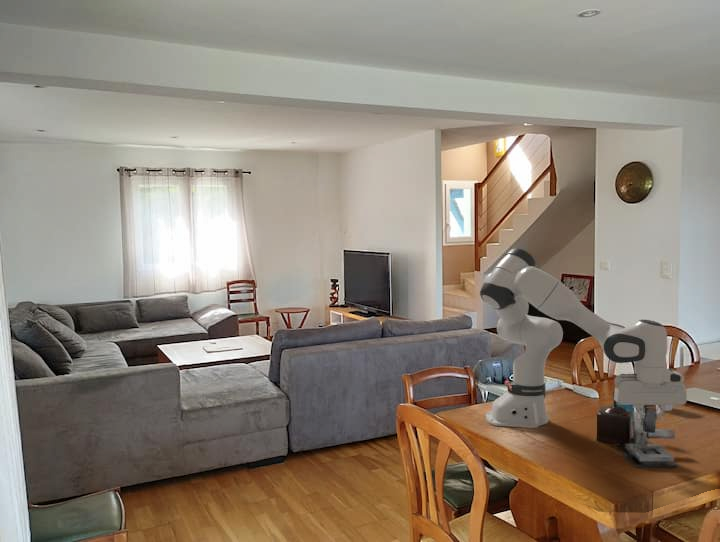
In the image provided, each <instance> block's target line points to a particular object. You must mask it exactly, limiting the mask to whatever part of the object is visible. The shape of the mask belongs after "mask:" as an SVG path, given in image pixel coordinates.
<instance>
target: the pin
mask: <svg viewBox="0 0 720 542" xmlns="http://www.w3.org/2000/svg"><path fill="white" fill-rule="evenodd" d="M656 412H657V409H656V405H644V408H643V413H644V414H645V416H644V417H645V419H643V431H645V432H649V433H654V432H655V429H656V424H657V423H656V421H657V419H656Z"/></svg>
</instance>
